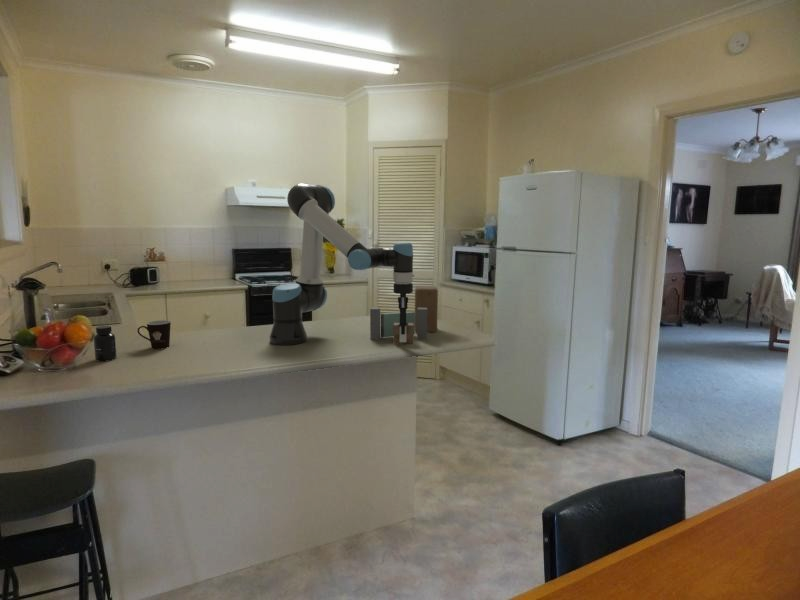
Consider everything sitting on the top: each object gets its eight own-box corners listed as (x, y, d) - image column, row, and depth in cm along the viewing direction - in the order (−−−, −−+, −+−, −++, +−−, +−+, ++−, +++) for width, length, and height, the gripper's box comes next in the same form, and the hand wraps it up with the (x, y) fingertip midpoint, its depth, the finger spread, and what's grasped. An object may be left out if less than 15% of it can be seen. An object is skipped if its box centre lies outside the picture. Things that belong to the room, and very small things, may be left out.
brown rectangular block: (393, 344, 209) (393, 325, 208) (394, 341, 214) (394, 322, 213) (413, 344, 209) (413, 325, 208) (413, 341, 214) (413, 322, 213)
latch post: (417, 339, 217) (417, 309, 215) (417, 337, 221) (417, 307, 219) (426, 339, 217) (427, 309, 215) (426, 337, 221) (426, 307, 219)
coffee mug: (177, 345, 207) (175, 321, 205) (162, 350, 199) (160, 325, 197) (153, 343, 210) (151, 319, 208) (137, 348, 202) (135, 323, 200)
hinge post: (370, 339, 218) (370, 309, 215) (371, 336, 222) (370, 307, 219) (379, 339, 217) (379, 309, 215) (380, 337, 221) (380, 307, 219)
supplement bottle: (93, 362, 182) (89, 329, 180) (98, 357, 189) (95, 325, 187) (114, 360, 184) (111, 328, 182) (119, 356, 191) (116, 324, 189)
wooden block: (437, 333, 229) (437, 288, 226) (414, 333, 229) (415, 288, 226) (436, 328, 239) (436, 285, 236) (414, 328, 239) (414, 285, 236)
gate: (381, 337, 218) (381, 314, 217) (380, 336, 220) (380, 313, 218) (414, 334, 223) (414, 312, 222) (413, 334, 225) (413, 311, 223)
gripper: (412, 285, 193) (412, 345, 197) (412, 280, 206) (412, 337, 210) (392, 285, 193) (393, 345, 197) (394, 280, 206) (394, 337, 210)
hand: (403, 341), depth 203 cm, fingers closed
